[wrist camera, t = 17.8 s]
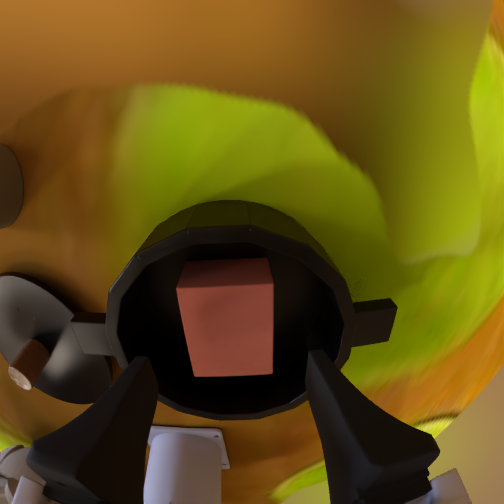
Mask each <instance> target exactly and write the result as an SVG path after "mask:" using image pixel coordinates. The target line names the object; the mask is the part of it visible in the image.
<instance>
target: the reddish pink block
mask: <svg viewBox="0 0 504 504" xmlns="http://www.w3.org/2000/svg"><path fill="white" fill-rule="evenodd" d="M176 291H177V296H178V302H179V307H180V312H181V317H182V322H183V327H184V332H185V337H186V341H187V346H188V351H189V355H190V359H191V364H192V368H193V372H194V376H195V377H215V376H245V375H262V374H272V373H273V336H274V283H273V278H272V274H271V270H270V266H269V262H268V258H267V257H263V258H244V259H223V260H203V261H186V262H185V265H184V268H183V271H182V273H181V276H180V279H179V282H178V285H177V288H176Z"/></svg>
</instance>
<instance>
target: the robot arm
mask: <svg viewBox="0 0 504 504" xmlns="http://www.w3.org/2000/svg"><path fill="white" fill-rule="evenodd" d="M305 384H306V390H307V396H308V401H309V404H310V407H311V410H312V414H313V417H314V420H315V423H316V426H317V429H318V433H319V436H320V439H321V443H322V448H323V453H324V459H325V465H326V471H327V478H328V485H329V493H330V502H331V504H472V502H471V500H470V498H469V496H468V493H467V491H466V489H465V486H464V484H463V482H462V480H461V478H460V476H459V473H458V471H457V469H456V468H453V469H451V470H450V471H448V472H446V473H443V474H441V475H440V476H437V477H436V478H434V479H432V480H430V481H429V480H428V478H427V476H429V471H428V469H427V468H428V467H429V466H430V465H431V464H432V463H433V462H434V461H435V460H436V458H437V457H438V456H439V454H440V449H439V447H438V445H437V443H436V441H435V440H434V438H433V437H432V435H431V434H429V433H426V432H424V431H421V430H419V429H416V428H414V427H411V426H409V425H407V424H405V423H403V422H402V421H400V420H398V419H396V418H395V417H393V416H391V415H390V414H388V413H387V412H385V411H384V410H382V409H381V408H379V407H378V406H377V405H375V404H374V403H373V402H372V401H370V400H369V399H368V398H367V397H365V396H364V395H363V394H362V393H361V392H360V391H359V390H358V389H357V388H356V387H355V386H354V385H353V384H352V383H351V382H350V381H349V380H348V379H347V378H346V377H345V376H344V375H343V374H342V373H341V371H340V370H339V369H338V368H337V367H336V366H335V364H334V363H333V362H332V361H331V360H330V358H329V357H328V356H327V354H326V353H325V352H324V351H323V350H322V349H320V350H311V351H309V352H308V360H307V368H306V376H305ZM158 390H159V385H158V382H157V379H156V376H155V374H154V371H153V368H152V365H151V362H150V359H149V357H146V356H136V357H135V358H134V359H133V361H132V362H131V363H130V364H129V365H128V367H127V368H126V369H125V370H124V371H123V373H122V374H121V375H120V376H119V377H118V378H117V380H116V381H115V382H114V383H113V384H112V385H111V386H110V388H109V389H108V390H107V391H106V392H105V393H104V394H103V395H102V396H101V397H100V398H99V399H98V400H97V401H96V402H95V403H94V404H93V405H92V406H90V407H89V408H88V409H87V410H86V411H85V412H83V413H82V414H81V415H79V416H78V417H76V418H75V419H74V420H72V421H71V422H69V423H68V424H66V425H65V426H63V427H61V428H60V429H58V430H56V431H54V432H52V433H50V434H48V435H46V436H44V437H41V438H39V439H37V440H34V441H33V443H32V446H31V448H30V450H29V453H28V455H27V457H26V460H25V462H26V464H27V466H28V467H29V468H30V469H31V470H32V471H34V472H35V473H36V474H37V475H38V476H40V477H41V478H42V479H43V480H44V481H46V483H45V486H43V485H42V484H40V483H38V482H36V481H34V480H32V479H29V478H27V477H25V476H21V478H20V481H19V484H18V487H17V490H16V493H15V496H14V499H13V502H12V504H221V469H229V468H230V464H229V460H228V456H227V452H226V448H225V443H224V439H223V435H222V431H221V430H220V429H216V428H179V427H164V426H152V422H153V418H154V414H155V410H156V405H157V399H158ZM147 442H148V443H149V445H150V447H151V449H150V455H149V460H148V466H147V472H146V478H145V484H144V467H145V456H146V448H147Z"/></svg>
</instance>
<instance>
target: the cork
mask: <svg viewBox="0 0 504 504" xmlns="http://www.w3.org/2000/svg"><path fill="white" fill-rule="evenodd" d="M22 200H23V178H22V174H21V169H20V166H19V163H18V161H17V159H16V157H15V155H14V154H13V152H12V151H11V150H10V149H9V148H8V147H6V146H4V145H2V144H0V229H2V228H4V227H7V226H10V225H11V224H12V223H13V222H14V221H15V220H16V219H17V217H18V214H19V212H20V210H21V206H22Z"/></svg>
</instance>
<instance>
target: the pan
mask: <svg viewBox="0 0 504 504" xmlns="http://www.w3.org/2000/svg"><path fill="white" fill-rule="evenodd" d="M263 257H267V258H268V262H269V266H270V270H271V274H272V278H273V283H274V336H273V373H272V374H262V375H245V376H215V377H195V376H194V372H193V368H192V364H191V359H190V355H189V351H188V346H187V341H186V337H185V332H184V327H183V322H182V317H181V312H180V307H179V302H178V296H177V291H176V288H177V285H178V282H179V279H180V276H181V273H182V271H183V268H184V265H185V262H186V261H203V260H223V259H244V258H263ZM397 309H398V307H397V306H396V304H395V303H394V302H393V301H392V299H391V298H387V299H379V300H371V301H362V302H353V303H352V299H351V296H350V293H349V290H348V286H347V283H346V281H345V279H344V278H343V276H342V275H341V273H340V272H339V270H338V269H337V267H336V266H335V264H334V263H333V261H332V260H331V259H330V257H329V256H328V254H327V253H326V251H325V250H324V249H323V247H322V246H321V245H320V244H319V243H318V242H317V241H316V240H315V239H314V238H313V237H312V236H311V235H310V234H309V232H308V231H307V230H306V229H305V228H304V227H302V226H301V225H300V224H299V223H298V222H297V221H295V220H294V219H293V218H291V217H290V216H287V215H286V214H284V213H282V212H280V211H278V210H275V209H273V208H271V207H268V206H265V205H261V204H258V203H254V202H247V201H240V200H220V201H212V202H206V203H202V204H199V205H195V206H192V207H190V208H187V209H185V210H182V211H180V212H178V213H177V214H175V215H173V216H172V217H170V218H168V219H167V220H166V221H164V222H162V223H160V224H159V225H158V226H157V227H156V228H155V229H154V230H153V232H152V233H151V234H150V235H149V237H148V238H147V239H146V240H145V242H144V243H143V244H142V246H141V247H140V248H139V250H138V251H137V252H136V254H135V255H134V256H133V258H132V259H131V260H130V262H129V263H128V264H127V266H126V267H125V269H124V270H123V271H122V273H121V274H120V276H119V277H118V278H117V280H116V281H115V283H114V284H113V286H112V287H111V288H110V291H109V293H108V302H107V312H106V313H83V312H77V313H76V314H75V315H74V316H73V318H72V319H71V321H70V324H71V326H72V329H73V331H74V333H75V336H76V338H77V340H78V343H79V345H80V347H81V349H82V351H83V353H84V354H93V355H104V356H115V358H116V360H117V362H118V365H119V366H120V367H121V369H122V370H123V371H124V370H125V369H126V368H127V367H128V365H129V364H130V363H131V362H132V361H133V359H134V358H135V357H136V356H146V357H149V359H150V362H151V365H152V368H153V371H154V374H155V376H156V379H157V382H158V385H159V390H158V399H157V400H158V401H160V402H162V403H163V404H165V405H167V406H169V407H171V408H173V409H175V410H177V411H179V412H182V413H186V414H191V415H195V416H199V417H204V418H209V419H213V420H219V421H222V420H252V419H261V418H264V417H268V416H271V415H274V414H278V413H281V412H284V411H287V410H290V409H294V408H295V407H297V406H299V405H301V404H302V403H304V402H305V401H307V400H308V396H307V390H306V384H305V376H306V368H307V360H308V352H309V351H311V350H320V349H322V350H323V351H324V352H325V353H326V354H327V356H328V357H329V358H330V360H331V361H332V362H333V363H334V364H335V366H336V367H337V368H338V369H339V370H341V368H342V367H343V365H344V364H345V363H346V361H347V360H348V359H349V356H350V352H351V348H352V347H357V346H364V345H370V344H376V343H381V342H387V341H389V337H390V334H391V331H392V327H393V324H394V320H395V316H396V312H397Z"/></svg>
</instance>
